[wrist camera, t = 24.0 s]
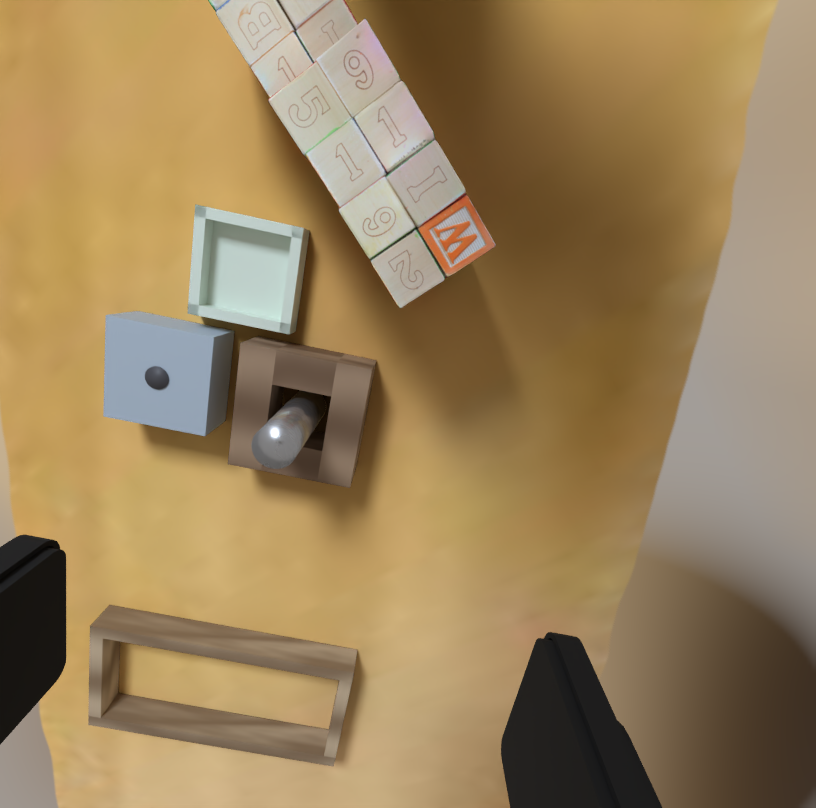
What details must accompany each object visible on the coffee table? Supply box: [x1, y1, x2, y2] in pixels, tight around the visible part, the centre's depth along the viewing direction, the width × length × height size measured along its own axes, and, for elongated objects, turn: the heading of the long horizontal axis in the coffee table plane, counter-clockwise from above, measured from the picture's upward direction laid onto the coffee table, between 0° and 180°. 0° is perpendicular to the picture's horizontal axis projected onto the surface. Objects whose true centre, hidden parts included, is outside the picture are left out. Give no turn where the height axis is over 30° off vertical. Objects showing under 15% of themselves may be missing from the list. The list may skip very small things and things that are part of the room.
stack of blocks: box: [208, 0, 496, 308], centre depth 28 cm, size 21×6×12 cm, turn 33°
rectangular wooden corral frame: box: [88, 605, 357, 766], centre depth 46 cm, size 12×25×3 cm, turn 78°
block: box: [104, 311, 235, 436], centre depth 36 cm, size 8×8×4 cm
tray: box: [188, 205, 310, 334], centre depth 35 cm, size 8×8×2 cm
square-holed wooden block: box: [228, 336, 377, 488], centre depth 37 cm, size 10×10×4 cm
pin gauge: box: [251, 390, 326, 469], centre depth 34 cm, size 3×3×10 cm
